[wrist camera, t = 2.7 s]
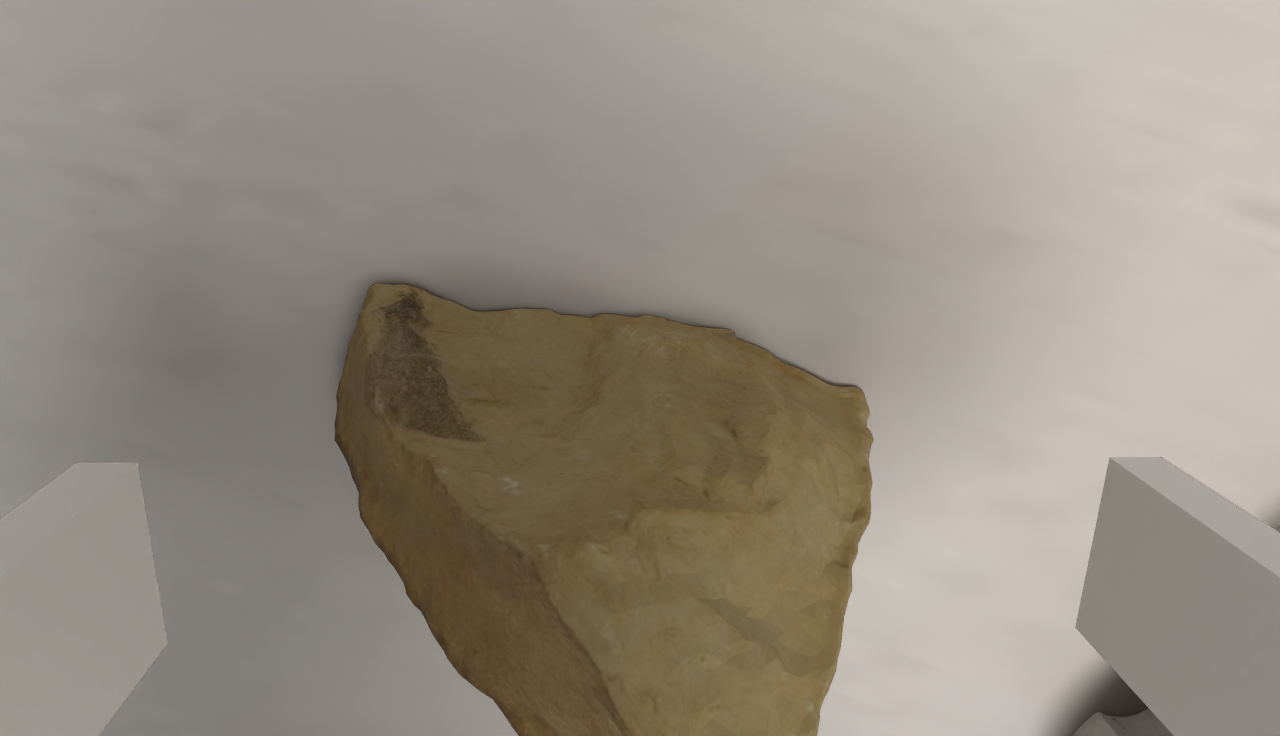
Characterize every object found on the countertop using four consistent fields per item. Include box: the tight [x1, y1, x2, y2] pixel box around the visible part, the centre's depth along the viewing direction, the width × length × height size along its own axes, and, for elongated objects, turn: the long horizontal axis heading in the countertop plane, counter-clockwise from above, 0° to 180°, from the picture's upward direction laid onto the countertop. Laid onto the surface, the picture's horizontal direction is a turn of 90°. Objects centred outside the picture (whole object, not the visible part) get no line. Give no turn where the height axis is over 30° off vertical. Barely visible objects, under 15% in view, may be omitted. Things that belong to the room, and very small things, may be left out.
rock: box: [335, 283, 873, 736], centre depth 16 cm, size 11×9×10 cm
